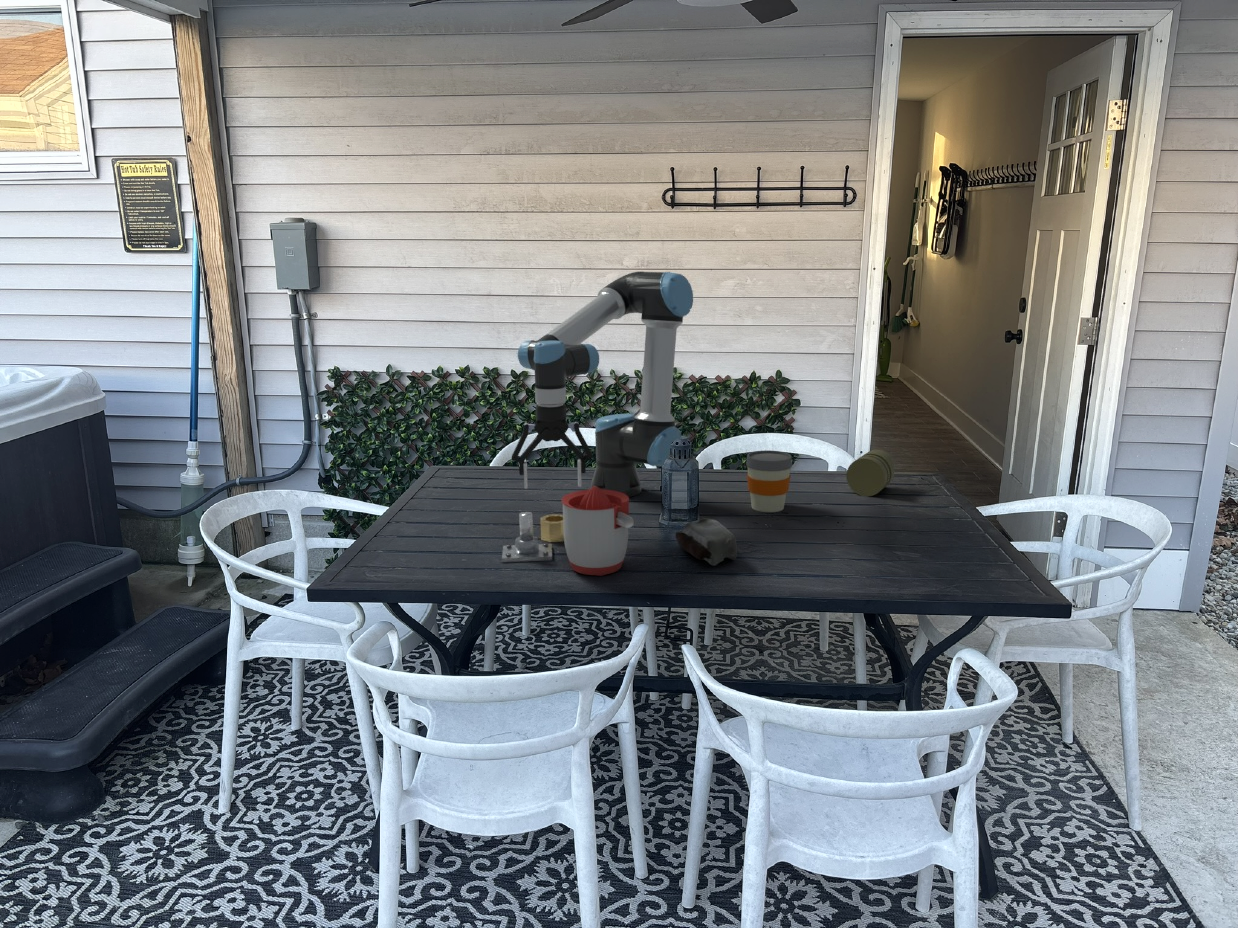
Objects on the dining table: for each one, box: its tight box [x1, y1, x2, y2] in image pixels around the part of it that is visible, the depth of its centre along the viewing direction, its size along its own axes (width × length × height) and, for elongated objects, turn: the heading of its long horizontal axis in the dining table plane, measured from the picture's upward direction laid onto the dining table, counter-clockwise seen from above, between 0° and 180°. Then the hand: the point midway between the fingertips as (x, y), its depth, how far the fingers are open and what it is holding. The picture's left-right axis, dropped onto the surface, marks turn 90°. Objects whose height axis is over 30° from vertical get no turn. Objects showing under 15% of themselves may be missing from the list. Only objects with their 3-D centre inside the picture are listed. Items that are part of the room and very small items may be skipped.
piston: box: [845, 449, 896, 497], centre depth 275 cm, size 11×12×11 cm
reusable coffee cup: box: [745, 450, 793, 513], centre depth 260 cm, size 13×13×15 cm
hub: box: [539, 513, 564, 543], centre depth 239 cm, size 7×7×5 cm
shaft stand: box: [501, 511, 553, 563], centre depth 226 cm, size 12×9×10 cm
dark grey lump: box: [675, 517, 738, 567], centre depth 224 cm, size 18×11×8 cm, turn 19°
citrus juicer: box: [560, 486, 635, 577], centre depth 216 cm, size 16×17×20 cm
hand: (552, 486), depth 236 cm, fingers open, 13 cm apart
